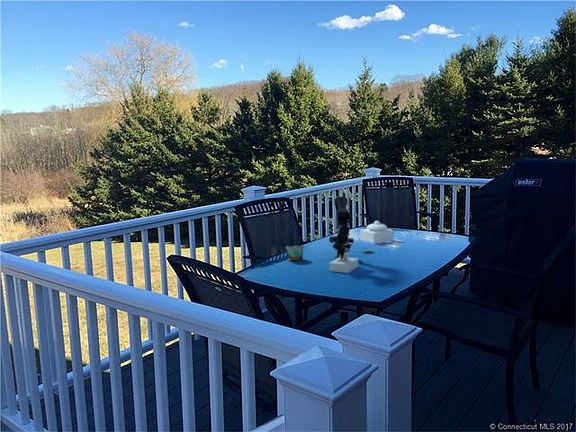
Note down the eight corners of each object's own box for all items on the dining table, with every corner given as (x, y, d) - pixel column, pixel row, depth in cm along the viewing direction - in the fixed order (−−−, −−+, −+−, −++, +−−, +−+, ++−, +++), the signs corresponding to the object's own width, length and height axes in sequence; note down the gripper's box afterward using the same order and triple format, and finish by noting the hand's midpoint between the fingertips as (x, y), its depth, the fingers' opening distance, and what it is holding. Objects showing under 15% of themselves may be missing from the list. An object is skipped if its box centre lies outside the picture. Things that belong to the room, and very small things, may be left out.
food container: (288, 262, 303) (288, 247, 301) (286, 260, 309) (285, 245, 307) (307, 261, 306) (306, 246, 305) (304, 258, 312) (303, 244, 311)
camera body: (340, 264, 294) (340, 255, 294) (358, 266, 289) (358, 257, 288) (329, 271, 281) (329, 261, 280) (348, 273, 275) (348, 263, 274)
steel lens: (341, 258, 287) (341, 247, 286) (349, 259, 285) (349, 247, 284) (338, 260, 283) (338, 248, 282) (346, 261, 280) (346, 249, 279)
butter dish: (360, 240, 364) (360, 220, 361) (379, 237, 371) (379, 217, 369) (373, 244, 348) (373, 223, 345) (393, 241, 355) (393, 220, 353)
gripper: (337, 228, 293) (337, 252, 296) (324, 233, 277) (325, 259, 280) (354, 229, 288) (354, 254, 290) (342, 235, 272) (342, 261, 274)
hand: (343, 257), depth 284 cm, fingers closed on steel lens, 5 cm apart
